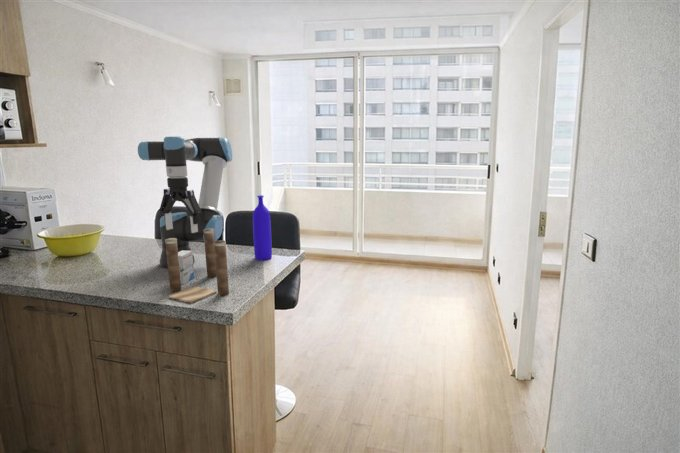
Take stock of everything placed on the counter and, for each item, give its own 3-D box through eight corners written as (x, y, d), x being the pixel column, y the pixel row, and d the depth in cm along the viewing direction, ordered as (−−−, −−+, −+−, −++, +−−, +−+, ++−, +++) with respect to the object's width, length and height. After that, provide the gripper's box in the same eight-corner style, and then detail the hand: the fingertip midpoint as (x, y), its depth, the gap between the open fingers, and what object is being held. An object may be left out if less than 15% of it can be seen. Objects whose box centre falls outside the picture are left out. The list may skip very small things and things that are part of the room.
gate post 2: (204, 277, 184) (201, 230, 180) (212, 274, 188) (208, 228, 183) (212, 278, 182) (208, 231, 178) (219, 275, 186) (216, 229, 182)
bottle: (255, 256, 215) (252, 194, 208) (272, 255, 215) (270, 194, 209) (253, 260, 207) (250, 197, 200) (271, 260, 207) (268, 196, 201)
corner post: (215, 294, 164) (211, 242, 159) (223, 291, 167) (219, 239, 163) (223, 296, 162) (220, 243, 157) (231, 293, 165) (228, 241, 161)
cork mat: (168, 298, 161) (167, 296, 161) (193, 288, 171) (193, 286, 171) (191, 303, 155) (191, 301, 155) (216, 293, 165) (216, 291, 165)
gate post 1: (167, 291, 168) (162, 240, 164) (176, 287, 171) (171, 237, 167) (175, 293, 166) (170, 241, 162) (183, 289, 169) (179, 238, 165)
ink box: (184, 277, 184) (181, 249, 182) (195, 277, 183) (193, 250, 181) (172, 284, 176) (169, 255, 174) (184, 284, 175) (181, 256, 173)
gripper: (146, 176, 173) (152, 229, 178) (194, 179, 162) (198, 235, 167) (162, 175, 180) (167, 226, 184) (208, 177, 169) (212, 231, 173)
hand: (182, 230), depth 176 cm, fingers open, 13 cm apart
